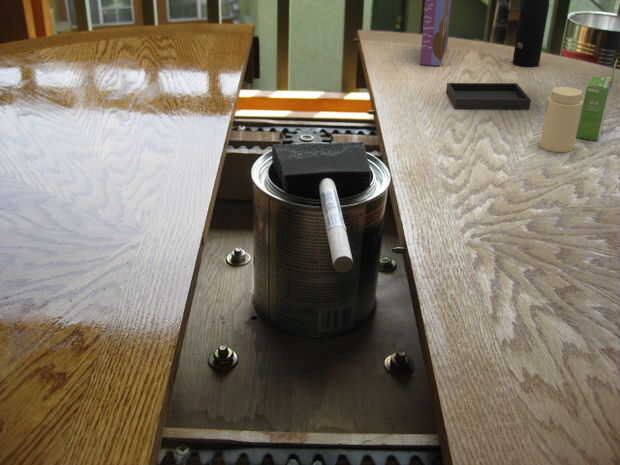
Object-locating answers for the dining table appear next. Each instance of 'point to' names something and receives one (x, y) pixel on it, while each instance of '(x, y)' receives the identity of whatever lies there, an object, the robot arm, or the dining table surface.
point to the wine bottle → (530, 32)
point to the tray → (487, 96)
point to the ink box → (594, 107)
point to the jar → (561, 119)
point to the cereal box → (435, 31)
